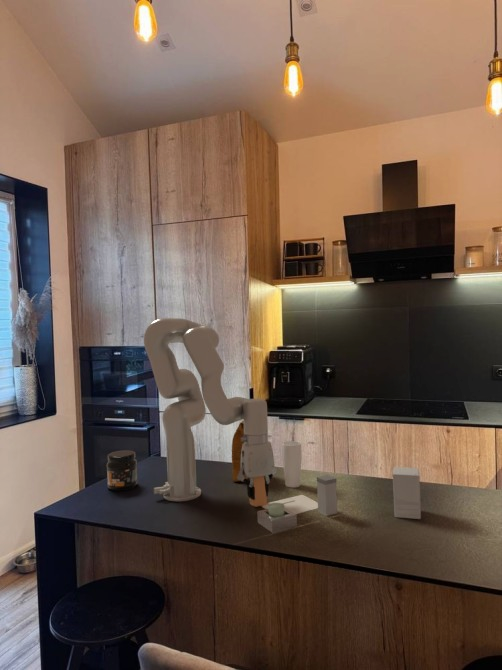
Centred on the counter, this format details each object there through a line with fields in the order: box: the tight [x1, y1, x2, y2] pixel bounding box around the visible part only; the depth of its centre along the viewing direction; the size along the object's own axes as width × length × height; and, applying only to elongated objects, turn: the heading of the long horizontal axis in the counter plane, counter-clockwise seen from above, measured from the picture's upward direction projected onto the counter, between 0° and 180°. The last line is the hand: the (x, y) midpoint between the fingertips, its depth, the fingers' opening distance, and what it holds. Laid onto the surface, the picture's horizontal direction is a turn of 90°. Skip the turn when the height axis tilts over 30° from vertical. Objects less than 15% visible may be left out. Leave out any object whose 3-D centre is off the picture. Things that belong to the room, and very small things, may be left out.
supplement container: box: [106, 449, 138, 492], centre depth 171 cm, size 10×10×12 cm
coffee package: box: [231, 420, 246, 483], centre depth 176 cm, size 10×12×22 cm
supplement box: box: [392, 466, 422, 520], centre depth 138 cm, size 7×7×13 cm
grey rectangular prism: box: [316, 474, 338, 517], centre depth 141 cm, size 4×4×11 cm
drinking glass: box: [281, 440, 303, 488], centre depth 166 cm, size 7×7×15 cm
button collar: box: [256, 507, 298, 534], centre depth 134 cm, size 8×8×4 cm
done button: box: [269, 503, 285, 518], centre depth 133 cm, size 4×4×4 cm
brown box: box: [248, 476, 268, 508], centre depth 150 cm, size 4×4×11 cm
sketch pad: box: [260, 494, 318, 515], centre depth 147 cm, size 16×12×1 cm
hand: (258, 496), depth 149 cm, fingers closed on brown box, 4 cm apart
